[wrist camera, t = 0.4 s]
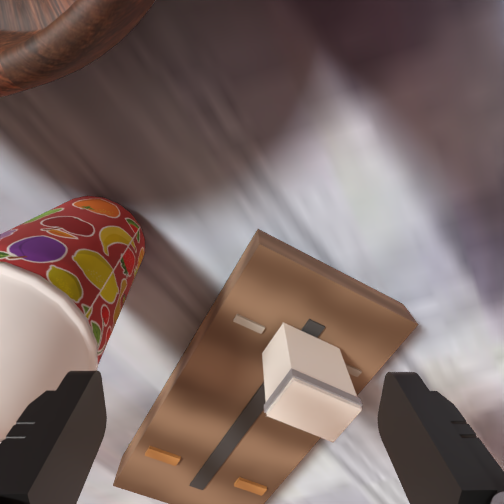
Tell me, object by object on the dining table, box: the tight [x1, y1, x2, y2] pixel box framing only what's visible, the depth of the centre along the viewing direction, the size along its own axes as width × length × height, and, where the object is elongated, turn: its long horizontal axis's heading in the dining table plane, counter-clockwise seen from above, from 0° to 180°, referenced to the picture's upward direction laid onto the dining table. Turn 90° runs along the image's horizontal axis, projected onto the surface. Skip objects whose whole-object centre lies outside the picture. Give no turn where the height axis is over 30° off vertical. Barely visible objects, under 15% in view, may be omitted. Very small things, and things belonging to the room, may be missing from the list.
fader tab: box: [262, 322, 363, 442], centre depth 26 cm, size 3×5×6 cm, turn 61°
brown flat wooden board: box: [113, 229, 418, 504], centre depth 33 cm, size 28×14×3 cm, turn 151°
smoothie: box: [0, 196, 145, 442], centre depth 19 cm, size 8×8×20 cm
